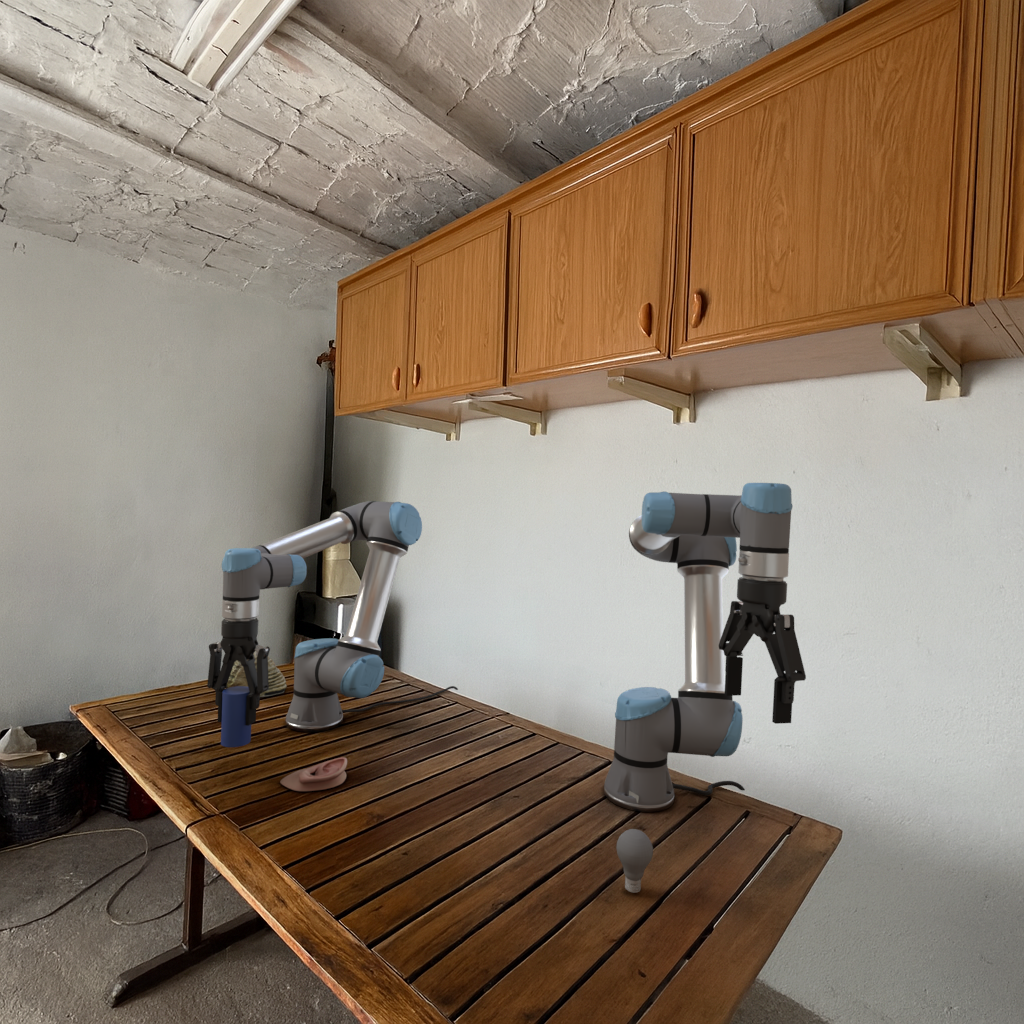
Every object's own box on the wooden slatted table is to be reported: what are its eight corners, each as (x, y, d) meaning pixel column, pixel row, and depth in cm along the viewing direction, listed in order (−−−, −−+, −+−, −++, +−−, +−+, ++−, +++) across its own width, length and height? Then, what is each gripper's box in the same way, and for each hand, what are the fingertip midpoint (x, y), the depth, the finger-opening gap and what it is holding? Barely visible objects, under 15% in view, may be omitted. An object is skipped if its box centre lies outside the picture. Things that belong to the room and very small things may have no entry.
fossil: (218, 695, 195) (220, 647, 195) (278, 685, 208) (279, 640, 207) (228, 703, 189) (230, 653, 188) (289, 692, 201) (290, 645, 201)
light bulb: (610, 879, 108) (613, 822, 108) (644, 879, 109) (647, 822, 109) (619, 902, 102) (622, 840, 102) (655, 901, 103) (658, 840, 103)
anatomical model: (273, 769, 136) (301, 749, 148) (272, 787, 136) (300, 766, 148) (329, 777, 134) (353, 756, 145) (329, 796, 134) (353, 773, 145)
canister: (251, 735, 145) (253, 685, 144) (250, 745, 139) (252, 693, 139) (221, 738, 143) (223, 687, 142) (219, 748, 137) (221, 695, 137)
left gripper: (190, 617, 138) (187, 722, 139) (270, 624, 135) (266, 732, 135) (212, 612, 146) (209, 711, 146) (288, 618, 142) (285, 720, 143)
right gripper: (702, 568, 114) (696, 685, 115) (790, 588, 90) (783, 737, 90) (740, 569, 116) (734, 684, 116) (836, 589, 91) (829, 735, 92)
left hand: (236, 721), depth 141 cm, fingers closed on canister, 6 cm apart
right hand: (755, 708), depth 103 cm, fingers open, 13 cm apart
